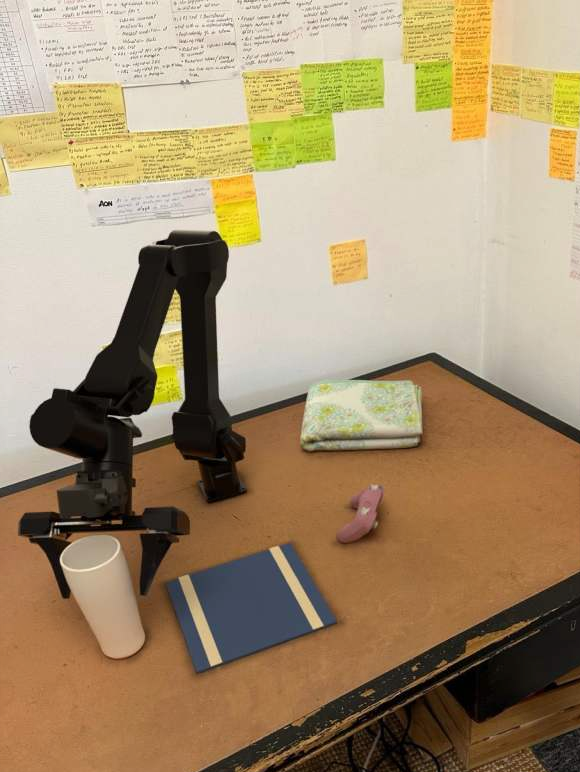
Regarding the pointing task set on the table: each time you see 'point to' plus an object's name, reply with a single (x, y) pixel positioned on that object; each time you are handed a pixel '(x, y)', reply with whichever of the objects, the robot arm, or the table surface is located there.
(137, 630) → the white tapered cup
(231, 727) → the table surface
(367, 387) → the towel
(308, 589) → the cloth
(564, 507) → the table surface
